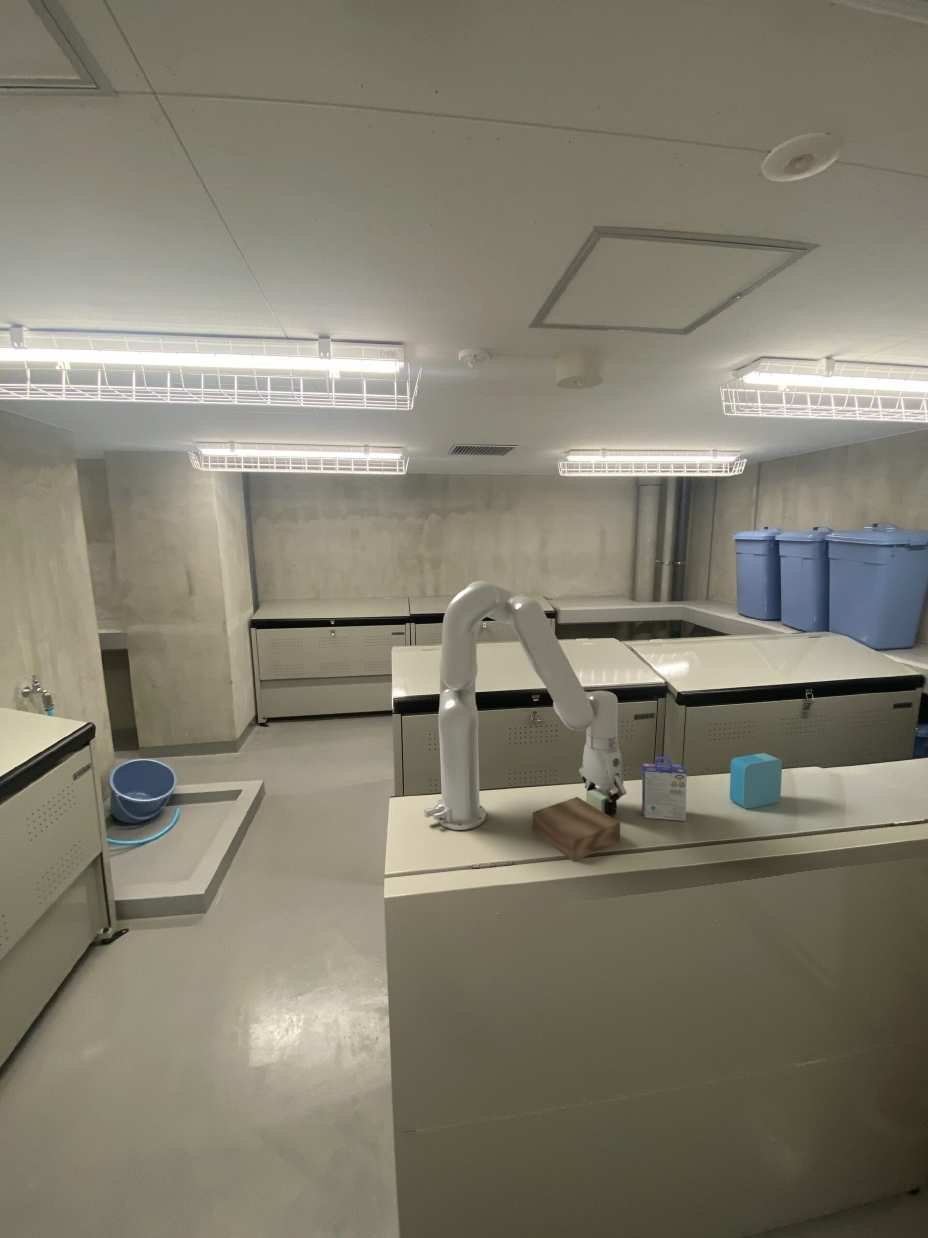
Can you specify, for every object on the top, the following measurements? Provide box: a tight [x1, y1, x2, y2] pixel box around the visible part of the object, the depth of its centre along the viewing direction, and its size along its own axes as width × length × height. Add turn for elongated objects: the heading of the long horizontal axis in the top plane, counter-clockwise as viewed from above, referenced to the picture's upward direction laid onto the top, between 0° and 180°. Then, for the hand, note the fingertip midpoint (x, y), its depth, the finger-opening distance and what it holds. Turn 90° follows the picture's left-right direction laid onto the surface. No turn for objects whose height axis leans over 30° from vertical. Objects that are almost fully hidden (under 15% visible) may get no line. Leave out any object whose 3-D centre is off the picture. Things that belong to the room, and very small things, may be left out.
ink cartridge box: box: [641, 755, 688, 822], centre depth 118 cm, size 10×6×14 cm, turn 78°
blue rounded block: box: [729, 752, 783, 810], centre depth 122 cm, size 12×4×12 cm, turn 105°
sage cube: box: [586, 786, 613, 813], centre depth 120 cm, size 5×5×5 cm
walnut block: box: [532, 796, 621, 862], centre depth 110 cm, size 14×14×5 cm
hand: (601, 808), depth 121 cm, fingers open, 5 cm apart
